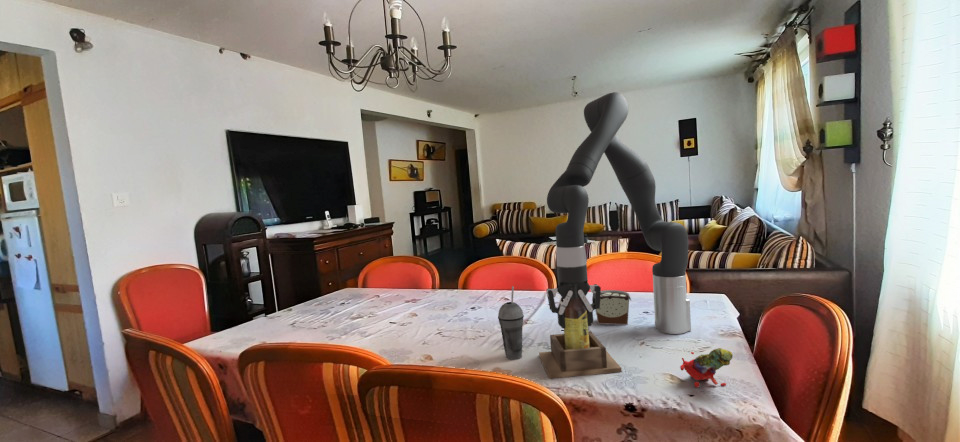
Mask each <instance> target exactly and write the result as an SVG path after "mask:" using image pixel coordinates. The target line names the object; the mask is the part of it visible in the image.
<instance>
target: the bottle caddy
mask: <svg viewBox="0 0 960 442" xmlns="http://www.w3.org/2000/svg"><path fill="white" fill-rule="evenodd" d="M588 331H589V330H588ZM549 337H550V338H549V339H550V351H543V352H542V351H540V352H538V356H539V359H540V361H541V363H542V365H543V368H544V370H545V372H546V374H547V376H548V379H555V378H556V379H559V378H567V377H579V376H590V375H600V374H601V375H602V374H610V373H612V374H613V373H614V374H615V373H620V372H621V373H622V366H621V365H620V364H618V362H617V361H616V360H615V359H614V358H613V356H612V355H611V354H610V353H609V352H608V351H607V348H606V346H605V345H604V344H603V343H602V342H601V340H599V338H597V336H596V335H595V334H594V333H593V331H592V330H591V331H589V346H590V348H580V349H569V350H566V348H565V337H564V333H557V334H550V335H549Z"/></svg>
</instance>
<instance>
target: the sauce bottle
mask: <svg viewBox="0 0 960 442" xmlns="http://www.w3.org/2000/svg"><path fill="white" fill-rule="evenodd" d="M569 287H570V288H571V291H572V292H573V294H572V296H571V298H570V301H569V302H568V305H567V307H566V308H565V310H564V312H563V314H564V318H565V328H563V334H564V337H565V348H566V350H569V349H580V348H590V346H589V326H588V318H587V309H586V306H585V304H584V303H583V301H582V300H581V298H580V296H579V294H578V292H577V290H578V287H579V284H569Z"/></svg>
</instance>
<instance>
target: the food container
mask: <svg viewBox="0 0 960 442" xmlns="http://www.w3.org/2000/svg"><path fill="white" fill-rule="evenodd" d="M591 297H592V299H591V301H593V296H591ZM630 301H632V298H631V295H630V294H629V293H628V292H626V291H623V290H616V289H612V290H611V289H608V290H606V289H605V290H601V293H600V308H599V309H595V315H596V320H597V325H619V326H620V325H621V326H622V325H624V326H626V325H629V313H630V312H629V309H630Z"/></svg>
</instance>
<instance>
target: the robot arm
mask: <svg viewBox="0 0 960 442" xmlns="http://www.w3.org/2000/svg"><path fill="white" fill-rule="evenodd" d="M628 115H629V104H628V101H627V100H626V98H625V96H624V95H623V94H622V93H619V92H616V91H615V92H609V93H606V94H604V95H602V96H600V97H598V98H595V99H594V100H592V101H590V102H588V103H587V104H586V105H585V107H584V108H583V117H584V120H585V123H586V125H587V128H588V129H589V131H590V133H589V134H588V135H587V137H586V138H585V139H584V140H583V141H582V142H581V143H580V144H579V146H578V147H577V149H576V150H575V151H574V153H573V154H572V157H571V158H570V161H569V163H568V165H567V167H566V169H565V170H564V171H563V173H562V174H561V175H560V176H559V177H558V178H557V179H556V181H554V183H553V184H552V186H551V187H550V189H549V190H548V192H547V196H546V205H547V208H548V209H549V210H550V212H552V213H554V214H568V216H567V219H566V221H565V222H561V223H559V224H557V225H556V227H555V244H556V251H555V252H556V255H555V256H556V259H555V260H556V271H557V273H556V274H557V283H558V284H557V286H556V287H555V288H550V287H549V288H547V289H546V296H547V300H548V301H547V302H548V305H549V310H550V311H551V313H552V314H557V323H558V326H559V327H560V328H562V329H564V328H565V318H564V314H563V312H564V310H565V308H566V307H567V305H568V302H569V301H570V298H571V296H572V294H573V292H572V291H571V288H570V287H569V284H579V287H578V290H577V292H578V294H579V296H580V298H581V300H582V301H583V303H584V304H585V306H586V309H587V318H588V327H591V326H592V324H594V311H596V309H599V308H600V293H601V291H602V290H601V289H602V288H601V286H600V285H598V284H597V283H593V284H589V281H588V280H589V279H588V264H587V263H588V262H587V261H588V258H587V253H586V248H585V236H584V235H585V234H584V228H585V225H586V224H585V223H586V218H587V212H588V209H589V204H590V203H589V200H590V199H589V194H588V192H587V190H586V188H585V187H586V186H588V185H589V184H590V183H591V181H592V179H593V177H594V175H595V173H596V169H597V168H598V166H599V163H600V161H601V158H602V157H603V155H604V154H605V157H606V158H607V160H608V162H609V164H610V166H611V168H612V170H613V171H614V172H613V173H615V176H616V178H617V181H618V182H619V183H618V184H620V187H621V189H622V190H623V192H624V194H625V196H626V198H627V200H628V202H629V204H630V206H631V208H632V211H633V212H634V214H635V216H636V219H637V221H638V224H639V227H640V229H641V233H642V235H643V237H644V240H645V242H646V244H647V246H648V247H649V248H651V249H652V250H654V251H656V252H661V259H660V261H659V262H657V263H654V264H653V265H652V268H651V269H652V270H651V271H652V289H653V306H654V307H653V308H654V310H653V311H654V328H655V330H656V331H657V332H660V333H663V334H669V335H670V334H671V335H681V334H686V333H687V332H691V331H692V322H691V321H692V319H691V318H692V317H691V300H690V299H688V298H687V297H688V296H687V275H686V273H687V272H686V270H687V267H688V263H689V234H688V231H687V229H686V228H685V226H684V225H683V224H681V223H679V222H675V221H673V222H672V221H665V220H664V219H663V218H662V216H661V215H660V211H659V210H658V208H657V204H656V187H657V186H656V180H655V177H654V174H653V173H652V170H651V169H650V166H649V164H648V162H647V161H646V160H645V158H643V157H642V156H641V155H640V154H639V153H638V152H636V151H635V150H633V149H632V148H630V147H629V146H628V145H626V144H625V143H624V142H623V141H622V140H621V139H620V138H619V136H618V135H617V133H618V132H619V130H620V128H621V127H622V125H623V124H624V122H625V121H626V119H627V117H628ZM589 291H590V292H591V293H592V297H593V300H591V301H592V302H591V303H590V301H589V300H588V298H587V295H588V293H589ZM557 293H558V294H559V295H560V298H559V299H560V300H559V302H558V305H557V306H556V301H555V297H556V296H557Z"/></svg>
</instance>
